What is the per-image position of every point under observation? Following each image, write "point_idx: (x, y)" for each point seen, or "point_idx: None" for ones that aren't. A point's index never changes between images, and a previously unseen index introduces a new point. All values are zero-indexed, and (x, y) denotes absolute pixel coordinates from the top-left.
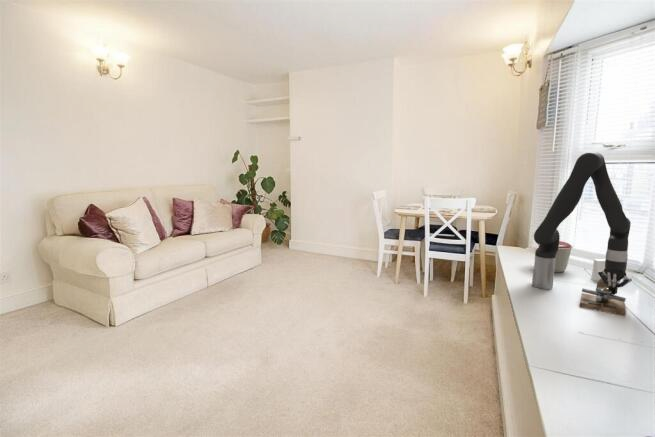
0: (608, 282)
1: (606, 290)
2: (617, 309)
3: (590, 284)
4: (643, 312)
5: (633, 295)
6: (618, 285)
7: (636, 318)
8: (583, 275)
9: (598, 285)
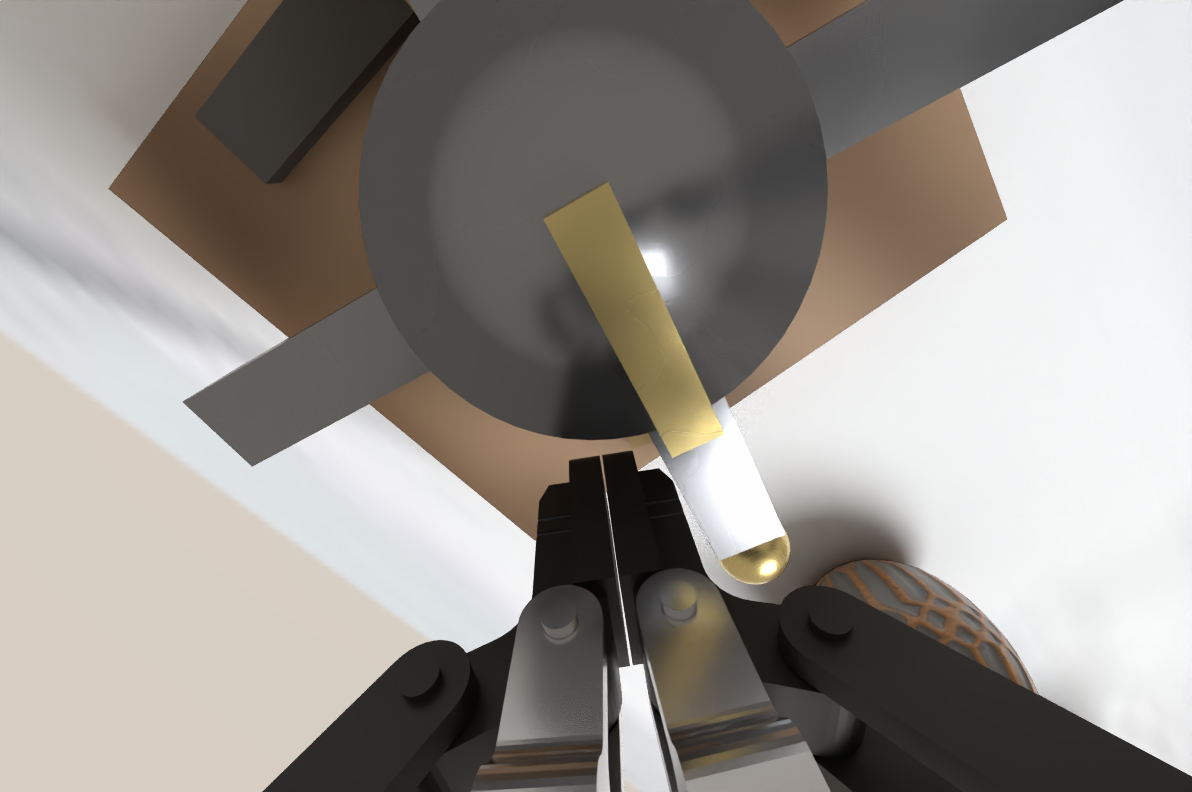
0: (750, 671)
1: (517, 277)
2: (206, 127)
3: (1049, 642)
4: (322, 513)
5: None
6: (416, 716)
7: (103, 270)
8: (1178, 737)
9: (968, 620)
